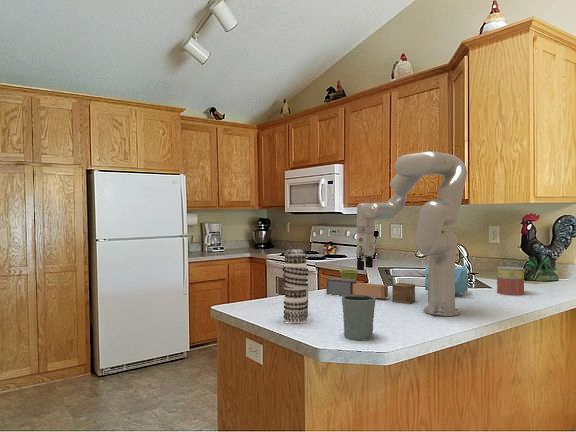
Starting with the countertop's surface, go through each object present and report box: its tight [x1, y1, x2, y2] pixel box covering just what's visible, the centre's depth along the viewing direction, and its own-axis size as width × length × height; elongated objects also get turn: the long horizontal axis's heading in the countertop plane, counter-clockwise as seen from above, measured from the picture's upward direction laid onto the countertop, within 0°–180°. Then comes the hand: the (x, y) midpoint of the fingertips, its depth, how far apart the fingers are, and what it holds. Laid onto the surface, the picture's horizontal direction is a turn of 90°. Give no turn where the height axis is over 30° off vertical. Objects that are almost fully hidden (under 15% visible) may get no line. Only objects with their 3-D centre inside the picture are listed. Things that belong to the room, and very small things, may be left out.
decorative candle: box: [282, 248, 309, 324], centre depth 147 cm, size 9×9×25 cm
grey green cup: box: [341, 295, 377, 341], centre depth 129 cm, size 10×10×12 cm
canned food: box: [496, 265, 525, 297], centre depth 196 cm, size 11×11×12 cm
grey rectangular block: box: [325, 276, 358, 297], centre depth 195 cm, size 7×12×7 cm, turn 57°
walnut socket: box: [391, 282, 416, 305], centre depth 179 cm, size 7×8×7 cm
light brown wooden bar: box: [351, 282, 389, 299], centre depth 190 cm, size 4×26×5 cm, turn 57°
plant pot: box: [339, 269, 359, 279], centre depth 212 cm, size 9×9×9 cm
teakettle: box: [424, 263, 469, 297], centre depth 194 cm, size 19×19×15 cm
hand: (364, 268), depth 189 cm, fingers open, 9 cm apart
